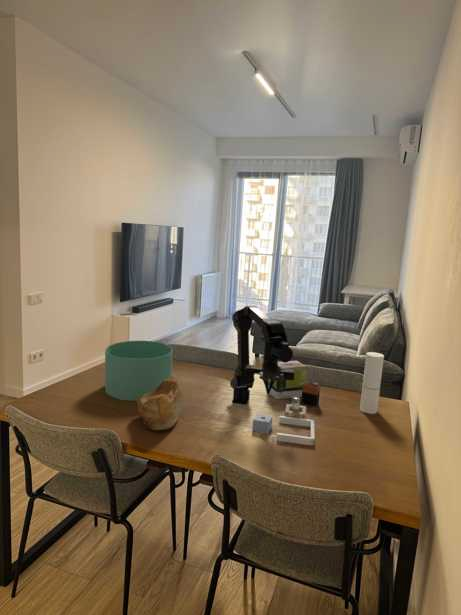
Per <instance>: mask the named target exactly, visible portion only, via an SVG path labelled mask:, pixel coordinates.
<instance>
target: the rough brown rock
mask: <svg viewBox="0 0 461 615" xmlns="http://www.w3.org/2000/svg"><path fill="white" fill-rule="evenodd" d="M182 401H183V390H182V389H181V386H180V382H179V380H178V379H177V378H175V377H174V376H173V375H172V376H170V377H169V378H168V379H166V380H164V381H163V382H162V383H161V384H160V385H159V386H158V387H157V388H156V389H155V390H153V391H151V392H149V393H146V394H144V395H142V396H141V397H140V398H139V399H138V400H137V401H136V404H137V409H138V412H139V415H140V416H141V419H142V422H143V425H144V427H146V429H147V430H153V431H165V430H168V429H169V430H170V429H171V428H172V427H174V426H175V425H176V423H177V420H178V418H179V416H180V414H181V404H182Z"/></svg>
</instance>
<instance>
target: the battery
mask: <svg viewBox="0 0 461 615" xmlns="http://www.w3.org/2000/svg"><path fill="white" fill-rule="evenodd" d="M320 395H321V384H319V383H318V382H310V381H308V380H306V382H305V383H304V384H303V388H302V397H301V398H300V403H301V404H302V405H304V406H310V407H312V408H313V407H314V408H316V407H317V406H318V405H319V404H320Z"/></svg>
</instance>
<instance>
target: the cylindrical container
mask: <svg viewBox="0 0 461 615" xmlns="http://www.w3.org/2000/svg"><path fill="white" fill-rule="evenodd" d="M384 359H385V355H384V354H382V353H379V352H375V351H369V352H366V353H365V363H364V369H363V371H364V372H363V378H362V379H363V380H362V388H361V394H360V395H361V396H360V404H359V410H360V411H361V412H363V413H366V414H370V415H372V414H373V415H375V414H377V413H378V409H379V408H378V406H379V398H380V391H381V382H382V376H383V369H384V368H383V367H384Z"/></svg>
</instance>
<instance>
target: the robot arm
mask: <svg viewBox="0 0 461 615" xmlns="http://www.w3.org/2000/svg"><path fill="white" fill-rule="evenodd" d="M231 320H232V322H233V323H232V324H233V325H232V326H233V327H234V329H235V331H236V333H237V336H236V337H237V367H236V368H235V370H234V373H233V374H234V376H233V378H232V379H231V380H230V381H229V382H230V388H232V389H233V392H232V394H233V395H232V400H231V402H232V403H236V404H244V405H247V404H248V402H249V401H250V393H251V390H250V389H253V387H254V383H255V375H256V374H259V380H262V381H263V383H264V387H265V391H266V394H267V395H270V390H271V388H272V386H273V384H274V382H275V381H278V380H279V376H284V378H285V379H286V380H294V375H295V373H294V370H293V369H288V368H284V371H281V367H279V366H278V362H281V361H282V362H285V363H286V362H288V361H292V358H293V356H294V351H293V350H292V348H291V347H289V346H290V344H289V343H288V335H287V333H286V331H285V327H284V324H283V322H281V321H279V320H278V319H277V320H276V319H272V318H270V317H269V316H267V315H266V314H265V313H264V312H263V311H262V310H261V309H259V307H258V306H257V305H244V307H242V308H241V309H238V310H236V311H234V313H233V314H232V318H231ZM253 322H254V323H255V324H256V325H257V326H258V327H260V332H261V333H262V335H263V337H262V339H261V340H262V341H264V343H263V344H264V346H263V357H262V365H261V368H258V367H257V365H255V364H250V334H249V332H250V330H251V328H252V326H253ZM268 379H270V384H269V389H268Z"/></svg>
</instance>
